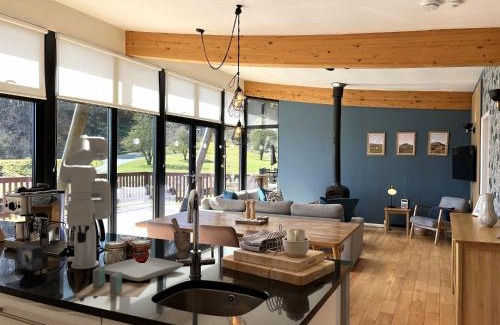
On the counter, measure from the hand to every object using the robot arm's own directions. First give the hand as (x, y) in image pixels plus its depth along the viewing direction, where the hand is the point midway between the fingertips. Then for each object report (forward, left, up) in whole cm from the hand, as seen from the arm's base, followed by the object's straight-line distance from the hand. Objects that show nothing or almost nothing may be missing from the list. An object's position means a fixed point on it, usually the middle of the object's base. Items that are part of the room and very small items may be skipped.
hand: (81, 242), depth 167 cm
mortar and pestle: (+28, +51, -18) cm, 61 cm away
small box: (-37, +25, -18) cm, 48 cm away
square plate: (+18, +20, -18) cm, 32 cm away
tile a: (+7, 0, -17) cm, 19 cm away
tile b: (+17, -7, -17) cm, 25 cm away
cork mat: (+15, -4, -18) cm, 24 cm away
